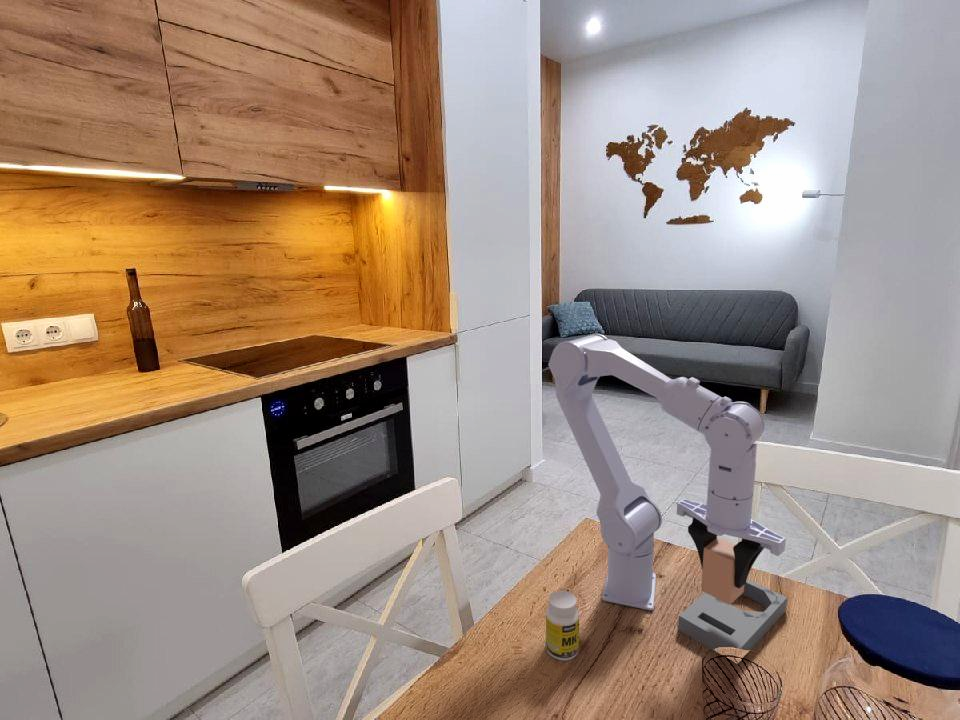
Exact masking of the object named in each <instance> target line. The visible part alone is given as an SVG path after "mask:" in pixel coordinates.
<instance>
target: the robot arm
mask: <svg viewBox="0 0 960 720" xmlns="http://www.w3.org/2000/svg"><path fill="white" fill-rule="evenodd" d="M547 365H548V368H549V370H550V372H551V374H552V376H553V379H554V386H555V395H556V400H557V401H558V404H559V406H560V407H561V409H562V410H561V411H562V413H563V415H564V417H565V419H566V421H567V424H568V426H569V428H570V430H571V433H572V434H573V436H574V439H575V442H576V443H577V446H578V448H579V450H580V452H581V454H582V457H583V459H584V461H585V463H586V466H587V468H588V470H589V472H590V475H591V477H592V480H593V481H594V484H595V486H596V488H597V489H598V492H599V495H600V497H599V500H598V504H597V507H596V512H595V513H596V516H597V517H598V520H599V525H600V534H601V537H602V539H603V541H604V543H605V544H606V547H607V549H608V550H607V551H608V552H607V574H606V579H605V584H604V588H603V592H602V595H601V596H602V597H601V599H602V601H604V602H608V603H613V604H617V605H623V606H628V607H632V608H633V607H634V608H638V609H642V610H647V611H653V610H654V608H655V607H654V605H655V604H654V603H655V590H656V578H657V573H655V572H654V555H655V554H654V552H655V550H654V549H655V541H654V540H655V532H657V531H658V530H659V529H660V528H661V526H662V523H663V516H662V512H661V509H660V508H659V506H658V505H657V504H656V503H655V502H654V501H653V500H652V499H651V497H650V496H649V495H648V494H647V491H646V489H645V488H644V487H643V486H641V485H639V484H637V483H635V482H633V481H632V479H631V477H630V476H629V473H628V471H627V469H626V467H625V465H624V462H623V460H622V458H621V456H620V453H619V452H618V450H617V447H616V445H615V443H614V441H613V438H612V437H611V435H610V433H609V430H608V428H607V426H606V424H605V421H604V420H603V417H602V415H601V412H600V410H599V409H598V407H597V404H596V402H595V400H594V398H593V392H594V390H595V387H596V385H597V382H598V380H599V379H600V377H604V376H613V377H616V378H618V380H621V381H623V382H626V383H627V384H629V385H631V386H633V387H635V388H638V389H639V390H641V391H643V392H645V393H647V394H648V395H650V396H653V397H655V398H657V399H658V401H659V404H660V406H661V409H662V411H663V412H664V413H667V414H668V415H670V416H671V417H673V418H675V419H677V420H678V421H680V422H682V423H683V424H685V425H687V426H688V427H690V428H692V429H693V430H694V431H697V433H700V434H702V435H704V439H705V441H706V443H707V445H708V446H709V447H710V456H709V465H708V467H709V468H708V479H707V480H708V481H707V494H706V495H707V496H706V504H705V503H701V502H696V501H692V500H689V499H686V498H682V499H681V500H679V501H678V502H677V503H676V516H677V515H678V516H680V517H685V516H687V517H689V518H691V519H692V522H691V524H689V525H688V526H687V533H688V535H690V537H691V540H692V541H693V544H694V545H695V547H696V551H697V553H698V557H699V561H700V565H701V570H703V555H704V547H706V546H707V545H708V544H710V543H711V542H713V541H714V540H715V539H717V538H718V537H721V536H723V535H726V536H729V537H730V536H731V537H734V538H738V539H739V538H740V539H741V541H739V542H737V543H735V544H736V545H735V546H734V547H733V551H734V556H735V576H734V585H735V587H737V588H741V587H742V586H743V585H744V584H745V583H746V580H747V579H748V577H749V574H750V571H751V569H752V567H753V565H754V564H755V562H756V560H757V559H758V557H759V556H760V555H761V553H762V552H763V550H764V549H767V550H769V551H770V552H769V553H770V554H771V555H774V556H777V557H779V556H780V555H782V554H783V553H784V552H785V550H786V544H787V543H786V542H787V541H786V539H787V538H786V537H784V536H782V535H780V534H778V533H776V532H775V531H772V530H771V529H769V528H767V527H766V526H764V525H763V524H761V523H759V522H758V521H756V520H754V519H752V511H753V502H754V501H753V500H754V490H755V479H756V468H757V467H756V466H757V461H756V458H757V449H758V448H757V447H758V444H756V442H757V441H758V440H759V439H760V438H761V437H762V435H763V433H764V431H765V426H766V425H765V419H764V417H763V415H762V414H761V412H760V411H759V410H758V409H757V408H755V407H754V406H753V405H751V404H750V403H749V402H746V401H735V402H734V401H733V400H732V399H731V398H729V397H727V396H724V397H722V396H721V395H719V394H716V393H715V392H713V391H711V390H709V389H707V388H705V387H703V386H702V385H700V383H701V381H700V380H699V379H697V378H695V377H693V376H692V377H690V378H688V377H685V376H680V377H677V378H671V377H669V376H667V375H666V374H664V373H662V372H661V371H659V370H657V368H654V367H653V366H652V365H650V364H648V363H646V362H645V361H643V360H641V359H640V358H638V357H637V356H635V355H633V354H632V353H630V352H629V351H627V350H626V349H624V348H623V347H622V346H621V345H620V344H619V343H618V341H616V340H613V339H609V338H607V337H606V336H605V335H603V334H601V333H591V334H589V335H587V336H584V337H580V338H576V339H573V340H569V341H566V340H565V341H562V342H560V343H558V344H557V345H556V346H555V347H554V349H553V350H552V353H551V355H550V359H549V361H548V363H547Z"/></svg>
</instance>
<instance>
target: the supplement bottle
mask: <svg viewBox="0 0 960 720" xmlns="http://www.w3.org/2000/svg"><path fill="white" fill-rule="evenodd" d="M577 602H578V600H577V597H576V595H574V594H573V593H572V592H570V591H567V590H564V589H563V590H561V589H560V590H555V591H553V592H551V593H550V594H549V596H548V606H547V608H546V610H545V648H546V651H547V654H548V655H550V657H552V658H554V659H556V660H558V661H562V662H563V661H565V662H566V661H570V660H573V659H574V658H575V657H576V656H577V655H578V653H579V651H580V613H579V609H578V603H577Z"/></svg>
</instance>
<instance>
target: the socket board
mask: <svg viewBox="0 0 960 720" xmlns="http://www.w3.org/2000/svg"><path fill="white" fill-rule="evenodd" d="M740 596H745V597H747V598H748V599H751V600H753V601H755V602H757V603H759V604H762V606H763V607H764V609H765V610H763V611H749V610H747V611H746V610H742V609H740V608H738V607H736V606H734V605H733V604H732V603H731V604H730V605H728V604H726V603H724V602H722V601H721V600H719V599H717V598H715V597H713V596H711V595H709V594H707V593H705V592H703V594H701V595H700V596H699V597H698V598H697V599H696V600H694V601H693V602H692V603H691V604H690V605H689V606H688V607H686V608H685V609H684V610H683V611H682V612H681V613H680V614H678V623H677V630H678V631H680V633H683V634H684V635H686V636H688V637H689V638H691V639H693V640H695V641H696V642H698V643H700V644H701V645H703V646H705V647H706V648H708V649H710V650H711V651H713V649H715V648H718V647H734V648H739V649H743V650H751V651H752V650H753V649H754V648H755V646H757V645H758V643H759V642H760V641H761V640H762V639H763V638H764V637H765V635H766V634H767V633H768V632H769V631H770V630H771V629H772V628H773V626H774V625H775V624H776V623H777V622H778V621H779V619H780V618H781V617H782V616H783V615H784V614H785V613H786V612H787V605H788V604H787V602H788V597H787V596H785V595H783V594H781V593H779V592H777V591H774V590H771V589H769V588H767V587H766V586H763V585H761V584H759V583H758V582H755V581H752V580H751V579H748V578H747V580H746V583H745V584H744V592H743V593H742V594H741V595H740Z"/></svg>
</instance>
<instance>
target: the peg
mask: <svg viewBox="0 0 960 720" xmlns="http://www.w3.org/2000/svg"><path fill="white" fill-rule="evenodd" d="M736 544H737V543H734V542H732V541H729V540H727V539H725V538H723V537H721V536H717V539H715V540H714V541H713V542H711V543H710V544H708V545H707V546H706V547H704V555H703V570H702V569H701V570H702V571H701V585H700V586H701V587H700V591H701V592H703V593H707V594H709V595H711V596H713V597H715V598H717V599H719V600H721V601H722V602H724V603H726V604H728V605H730V604H731V605H732V603H734V602H735V601H736V600H737V599H738V598H739V597H740V596H742V595H741V594H742V593H743V592H744V585H743V586H742V587H741V588H737V587H735V585H734V576H735V556H734V551H733V547H734V546H735V545H736Z"/></svg>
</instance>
